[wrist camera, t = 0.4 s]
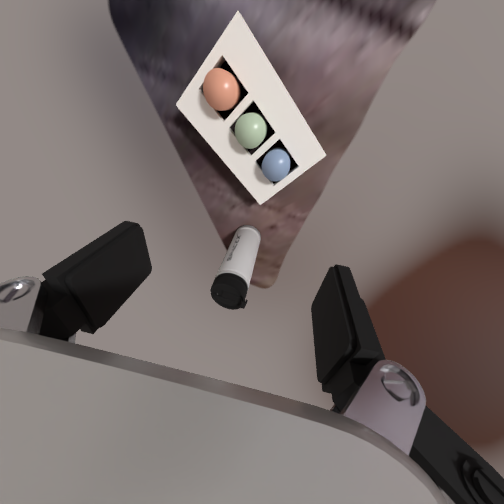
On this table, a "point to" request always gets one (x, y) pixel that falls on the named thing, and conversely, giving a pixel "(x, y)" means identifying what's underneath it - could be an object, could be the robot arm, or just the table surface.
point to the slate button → (276, 164)
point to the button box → (261, 92)
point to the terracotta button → (221, 89)
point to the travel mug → (236, 269)
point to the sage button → (250, 130)
